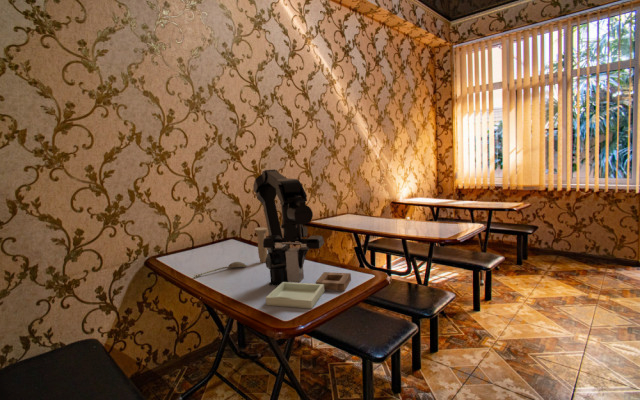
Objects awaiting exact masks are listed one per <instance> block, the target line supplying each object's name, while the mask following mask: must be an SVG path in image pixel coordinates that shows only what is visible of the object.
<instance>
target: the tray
mask: <svg viewBox="0 0 640 400" xmlns="http://www.w3.org/2000/svg"><path fill="white" fill-rule="evenodd" d="M325 291H326V290H324V284H316V283H304V282H300V283H295V282H282V283H281V284H280V285H277V287H276V288H274V289H273V290H272V291H271V292H270V293H269V294H268V295H266V296H265V305H266V306H271V307H272V306H273V307H285V308H286V307H287V308H298V309H311V310H312V309H313V308H314V307H315V305H316V304H317V303H318V302H319V300H320V299H321V297H322V296H323V294H324V293H325Z"/></svg>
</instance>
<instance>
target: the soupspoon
mask: <svg viewBox="0 0 640 400" xmlns="http://www.w3.org/2000/svg"><path fill="white" fill-rule="evenodd" d="M240 267H241V268H248V267H247V264H246V263H243V262H241V261H234V262H231V263H230V264H229V265H228V266H223V267H219V268H215V269H212V270H208V271H206V272H203V273H202V272H201V273H198V274H194V278H195V279H197V278H199V277H201V276H203V275H206V274H209V273H212V272H216V271H221V270H224V269H230V268H240Z"/></svg>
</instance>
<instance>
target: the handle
mask: <svg viewBox="0 0 640 400" xmlns="http://www.w3.org/2000/svg"><path fill="white" fill-rule="evenodd" d="M254 233H255V234H256V235H257V253H258V258H259V262H260V263H261V264H262V263H263V264H266V262H265V261H266V257H267V254H268V248H264V247H263V240H264V239H265V238H266V234H267V233H268V227H256V228H254Z"/></svg>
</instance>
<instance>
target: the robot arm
mask: <svg viewBox="0 0 640 400" xmlns="http://www.w3.org/2000/svg"><path fill="white" fill-rule="evenodd" d="M252 188H253V192H254V194H255V195H256V196H255V197H256V199H257V200H258V201H259V202H260V203H261V204H262V208H263V212H264V216H265V217H264V218H265V223H266V228H267V233H268V236H267V237H266V236H265V239H264V240H263V247H264V248H267V257H266V261H265V267H266V268H267V269H268V270H269V275H270V282H269V283H268V285H269V286H279V285H280V284H281V283H282V282H288V278H287V265H286V252H285V251H287V250H288V249H289V248H291V245H292V246H293V245H295V246H296V245H297V246H299V245H300V247H299V248H300V249H298V252H299V264H300V269H302V268H303V269H304V263H305V260H306V257H307V254H308V251H310V250H311V249H312V250H319V249H320V248H321V247H322V246H323V245H324V243H325V239H324V237H323V236H322V235H310V236H309V237H308V231H309V230H308V227H307V226H306V225H308V224H309V223H310V222H312V220H313V217H314V212H313V210H312V208H311V207H310V206H309V205H307V204H306V203H307V201H308V198H307V197H308V195H307V192H306V190H305V189H304V187H303V184H302V183H301V182H300V179H298V178H288V177H286V176H285V175H283V174H281V173H280V172H279V171H278V170H277V169H266V170H262V172H261V174H260V175H259V176H257V177H256V178H255V180H254V182H253V187H252ZM276 197H277V198H278V200H279V202H280V203H279V204H280V206H281V207H280V208H281V220H282V221H281V222H282V224H280V219H279V215H278V209H277V204H276V201H275V200H276Z"/></svg>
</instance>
